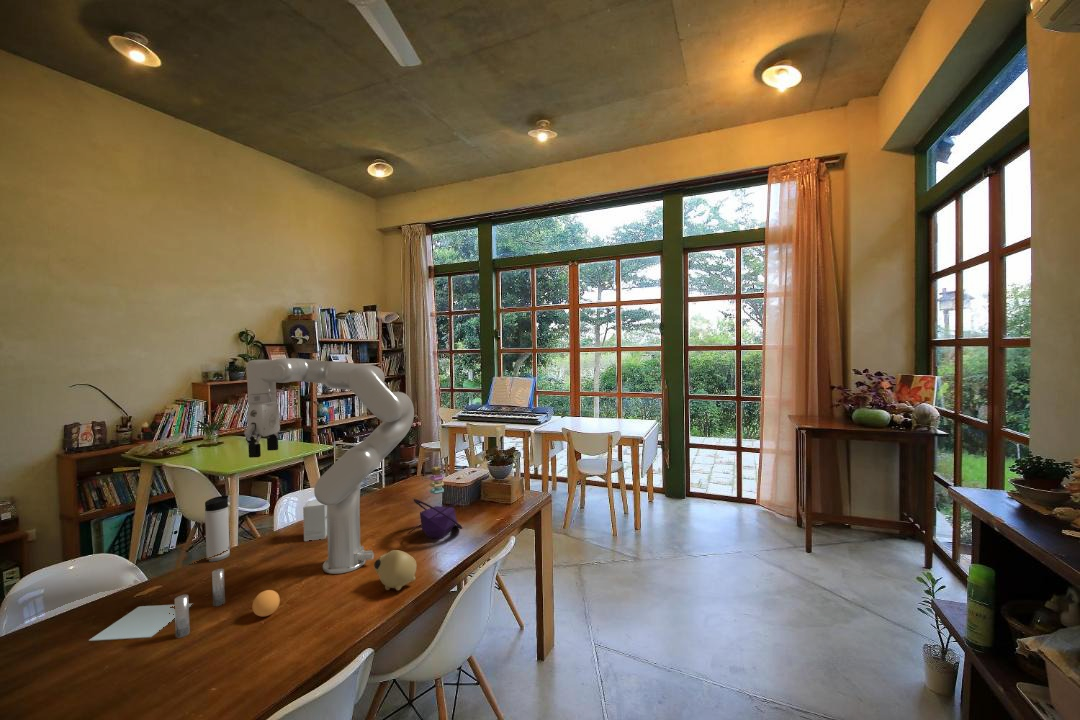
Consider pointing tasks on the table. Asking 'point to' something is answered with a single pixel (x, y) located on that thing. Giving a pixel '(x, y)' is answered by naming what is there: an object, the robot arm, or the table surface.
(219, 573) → the post right
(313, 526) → the supplement box
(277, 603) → the ball
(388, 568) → the toy pig
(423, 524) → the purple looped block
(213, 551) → the travel mug
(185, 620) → the post left
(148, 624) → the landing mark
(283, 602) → the table surface
